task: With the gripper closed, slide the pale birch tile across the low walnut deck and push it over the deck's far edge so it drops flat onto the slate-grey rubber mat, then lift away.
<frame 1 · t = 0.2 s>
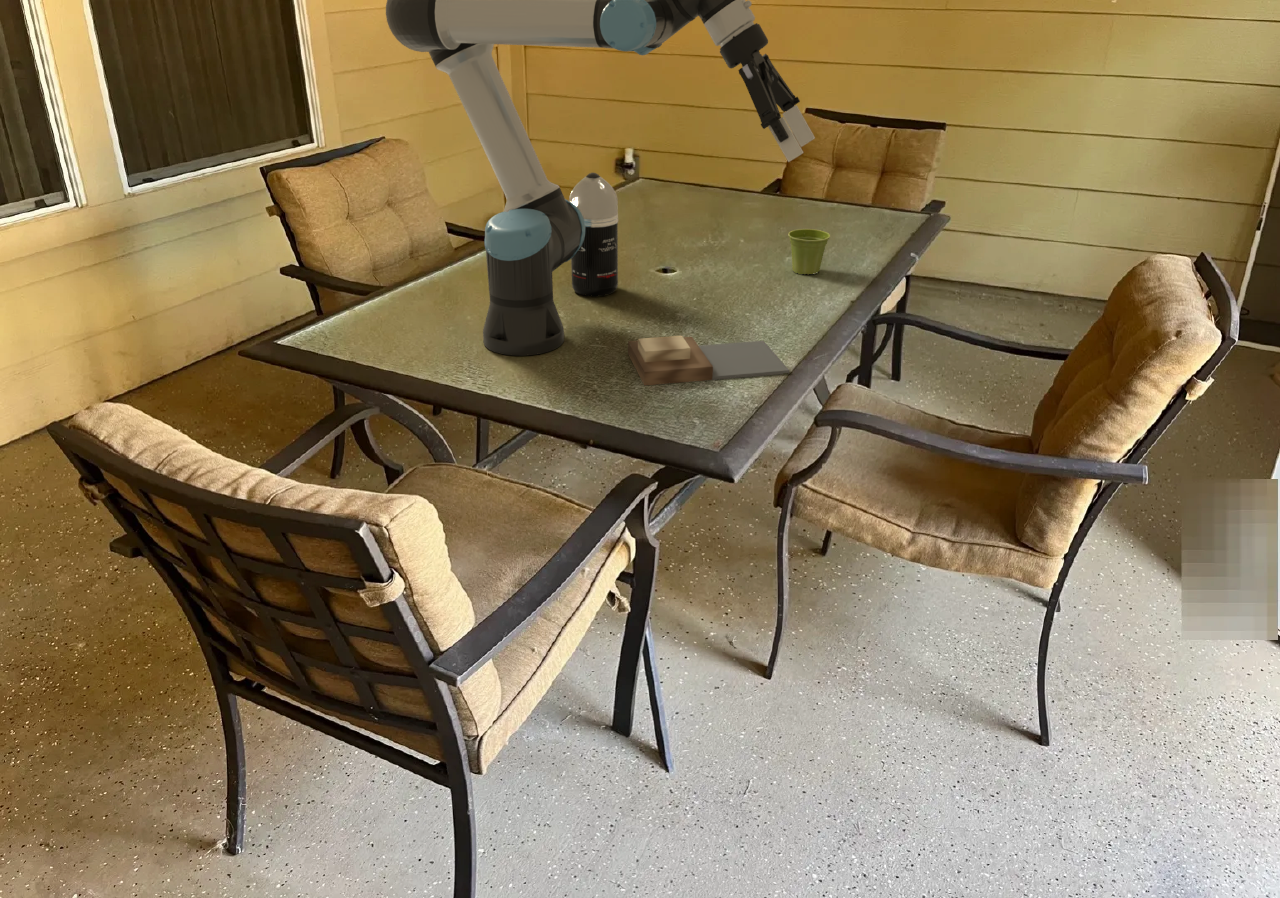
hand: (802, 149, 154), 35 cm above the table, tool tilted 35°, fingers open, 13 cm apart
plant pot: (805, 272, 210), on the table
walnut deck: (668, 366, 162), on the table
slate mat: (738, 360, 164), on the table
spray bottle: (595, 291, 197), on the table
birch tile: (663, 353, 160), point 2 cm above the table, touching walnut deck
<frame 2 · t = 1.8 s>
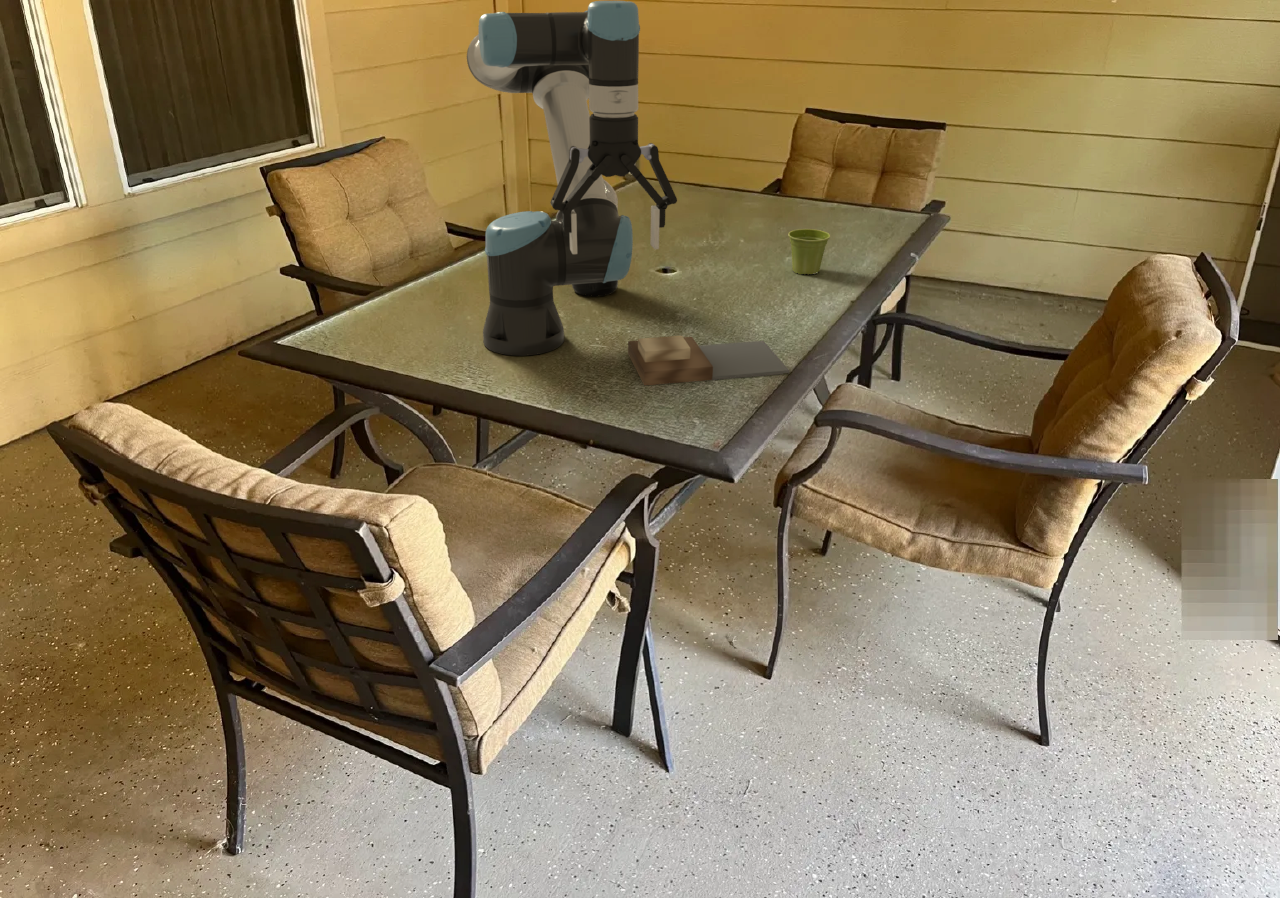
hand: (614, 249, 150), 22 cm above the table, tool pointing down, fingers open, 13 cm apart
nothing on the table moved.
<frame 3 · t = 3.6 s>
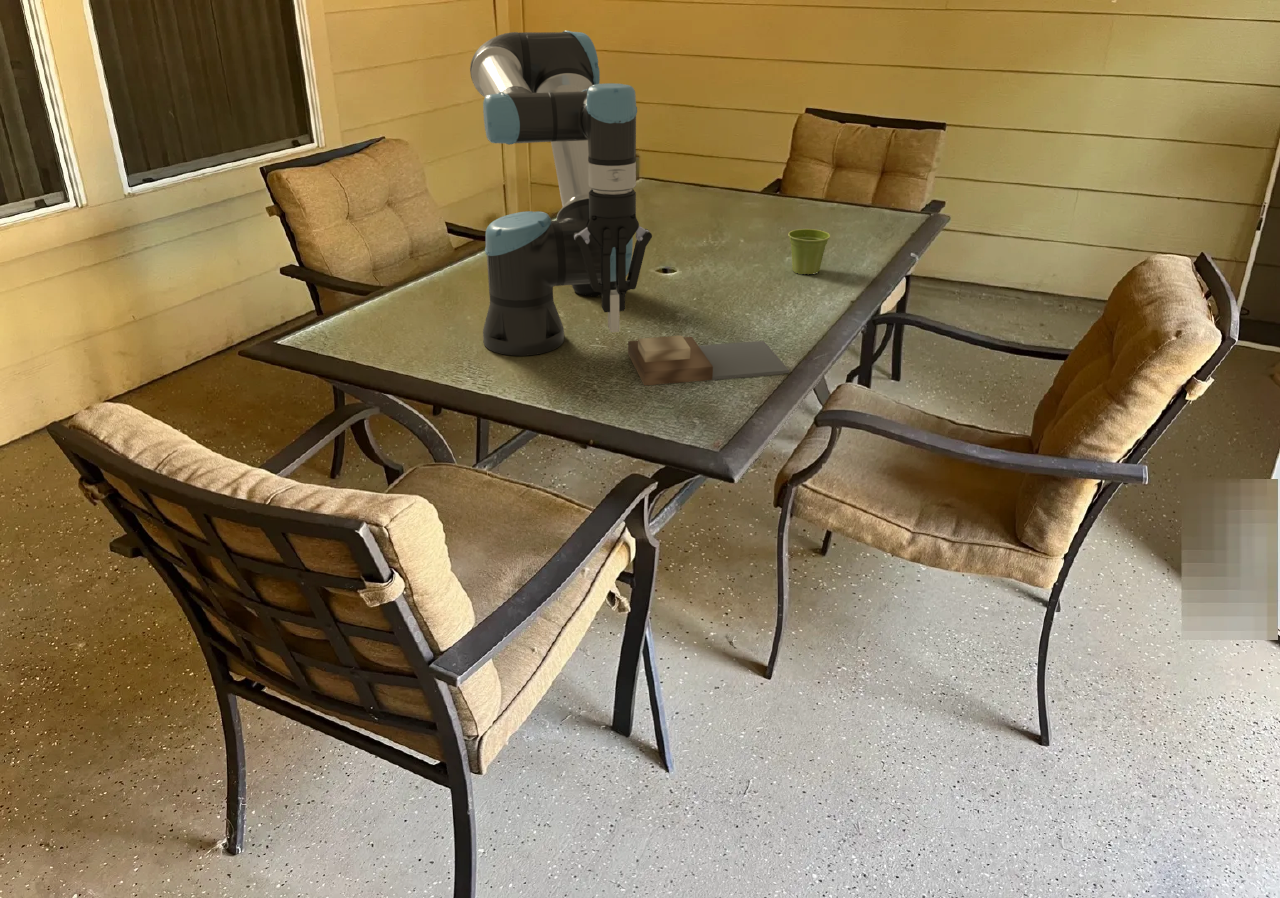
hand: (613, 328, 156), 8 cm above the table, tool pointing down, fingers closed
nothing on the table moved.
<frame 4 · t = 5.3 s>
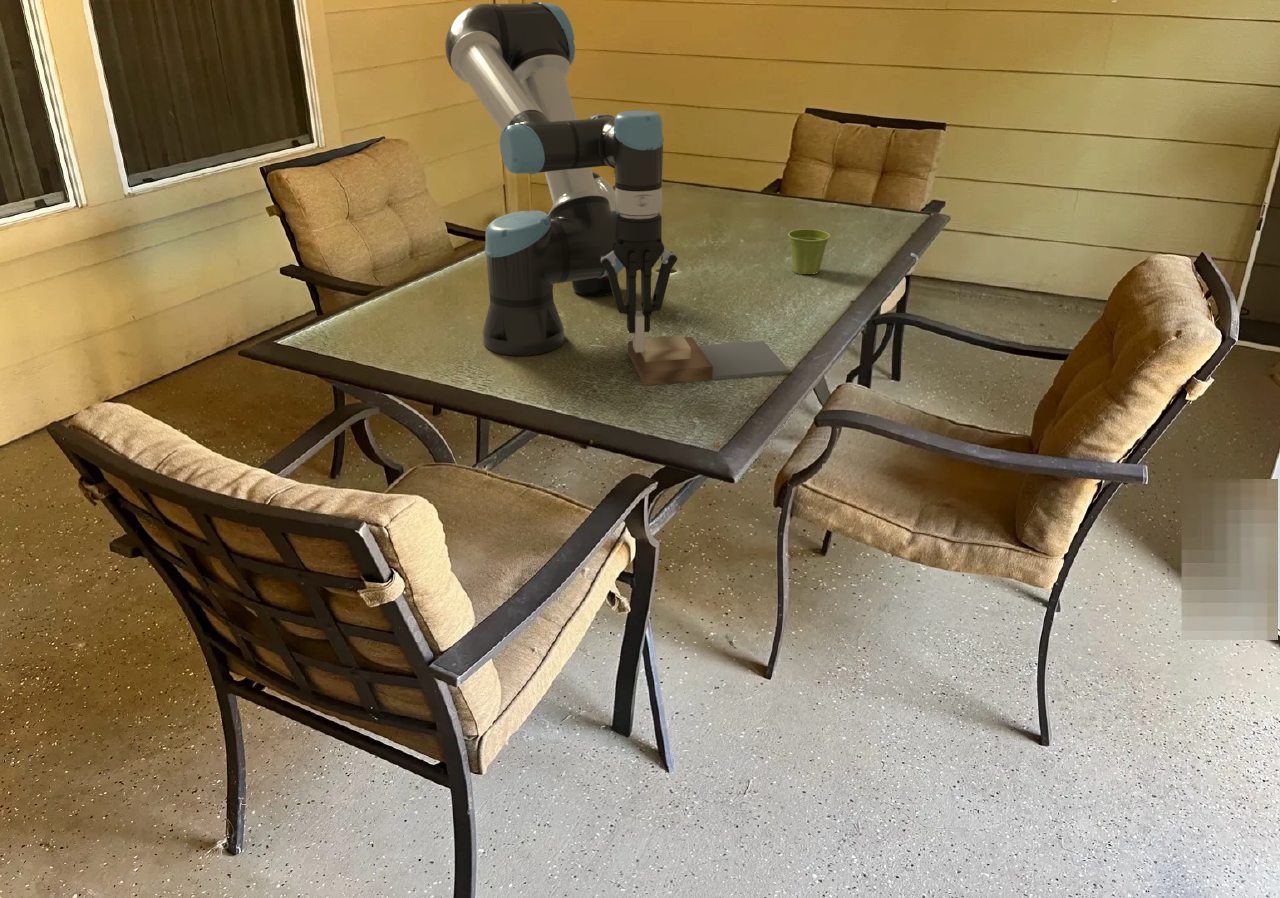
hand: (638, 349, 158), 4 cm above the table, tool pointing down, fingers closed
birch tile: (664, 353, 160), point 3 cm above the table, touching gripper
everything else where it was.
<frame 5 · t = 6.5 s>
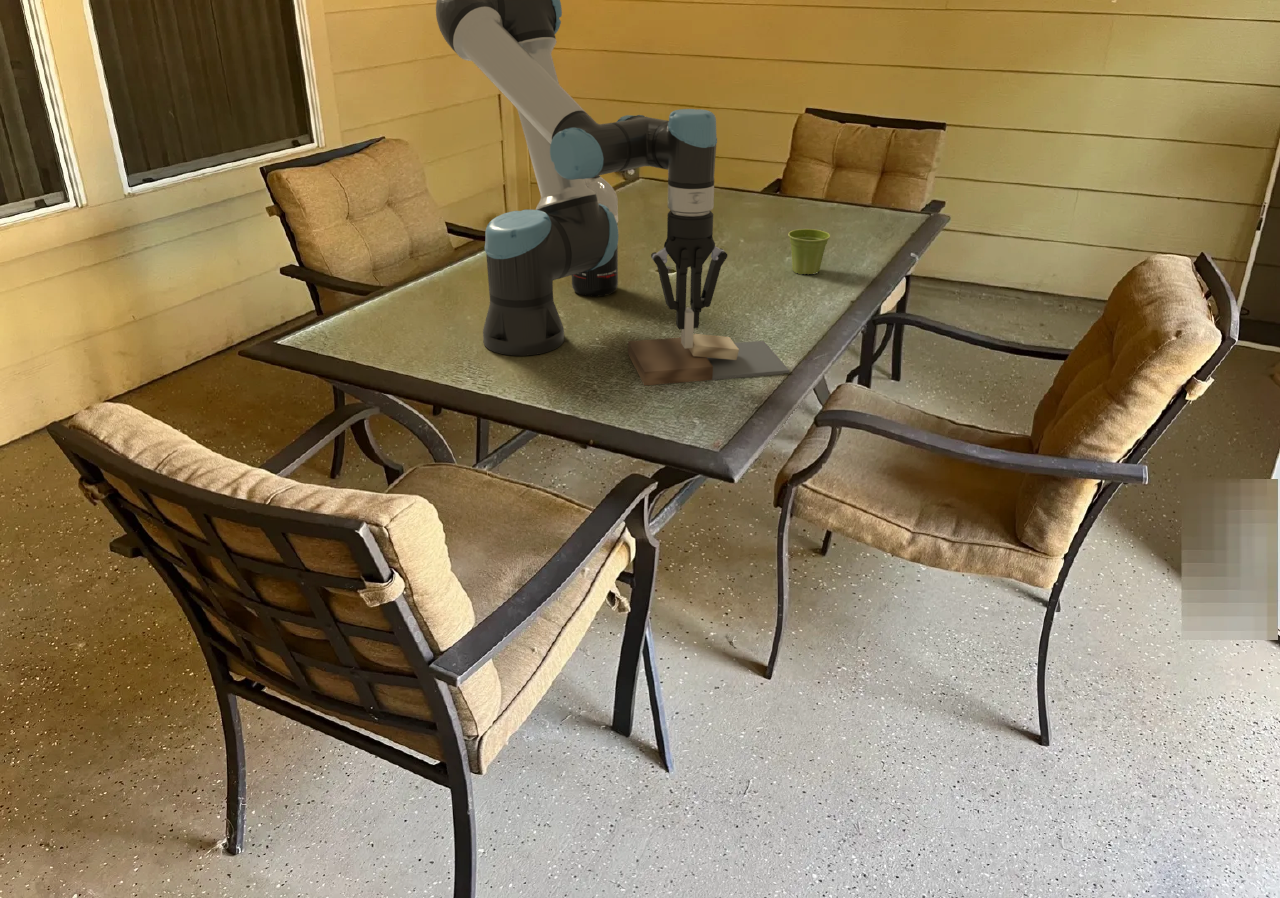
hand: (686, 345, 160), 4 cm above the table, tool pointing down, fingers closed
birch tile: (710, 351, 162), point 2 cm above the table, tilted 10°, touching gripper, walnut deck
everything else where it was.
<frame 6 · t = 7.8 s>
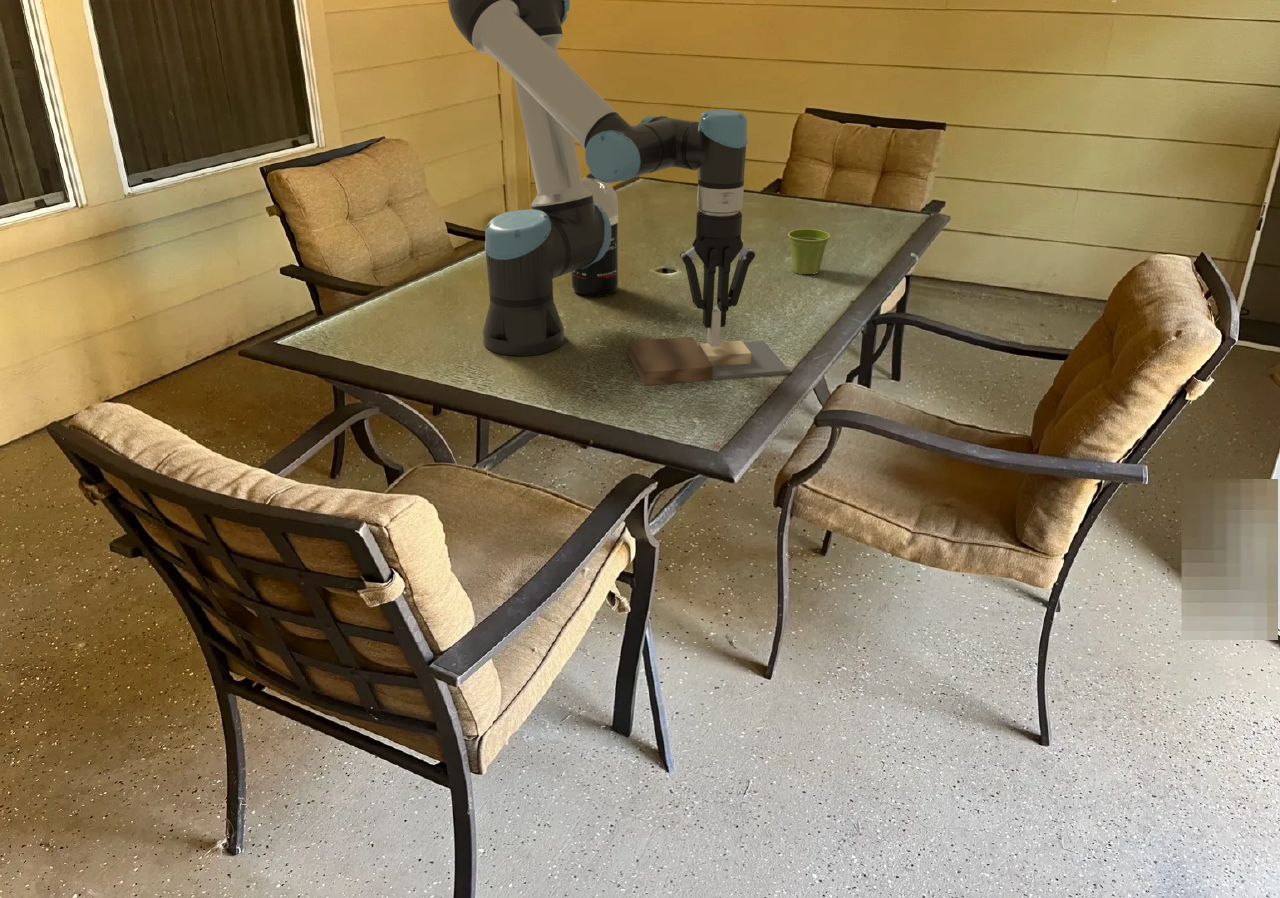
hand: (713, 343, 161), 4 cm above the table, tool pointing down, fingers closed
birch tile: (724, 358, 163), point 1 cm above the table, touching slate mat
everything else where it was.
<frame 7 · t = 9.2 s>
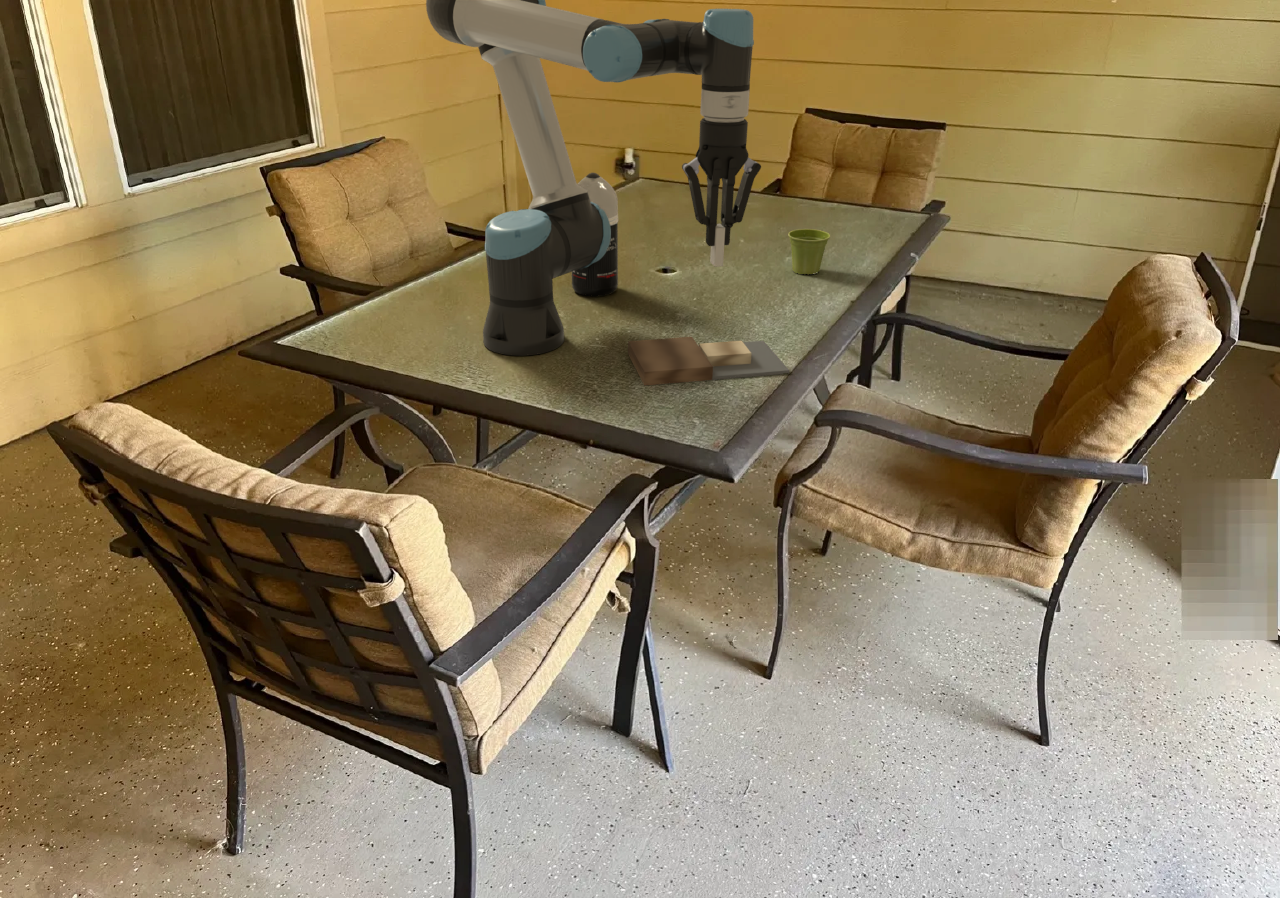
hand: (716, 263, 154), 18 cm above the table, tool pointing down, fingers closed
nothing on the table moved.
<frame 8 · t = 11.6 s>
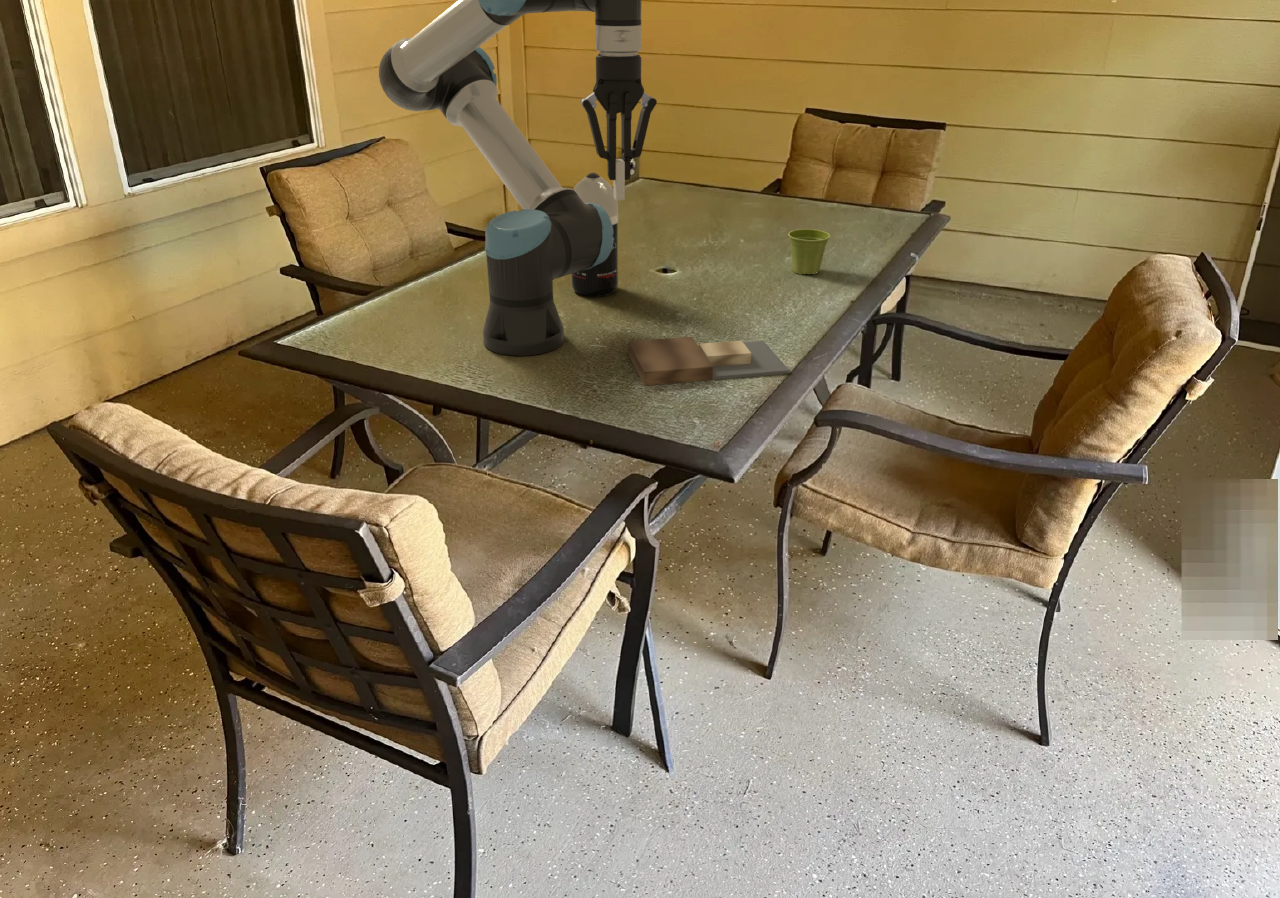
hand: (619, 198, 161), 26 cm above the table, tool pointing down, fingers closed
nothing on the table moved.
at the end: birch tile inside the target area (3.7 cm from its centre), point 0.6 cm above the table; birch tile touching slate mat; birch tile tilted 0° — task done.
